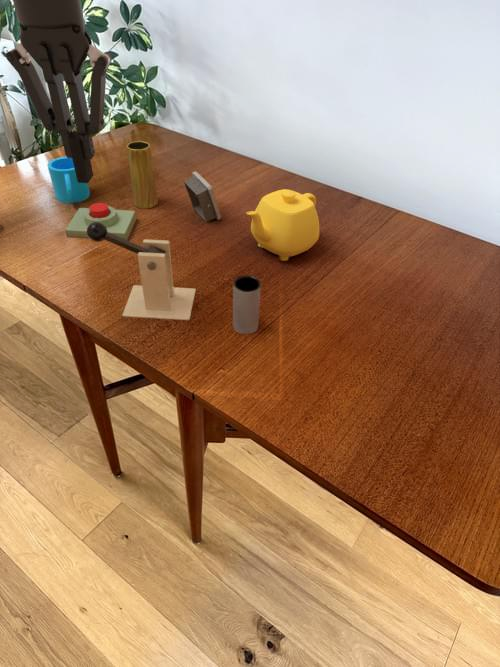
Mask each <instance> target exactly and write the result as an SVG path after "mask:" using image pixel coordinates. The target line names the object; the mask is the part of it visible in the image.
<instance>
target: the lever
mask: <svg viewBox="0 0 500 667" xmlns="http://www.w3.org/2000/svg"><path fill="white" fill-rule="evenodd" d="M87 235H88V237H89V238H90V239H89V240H91V241H93V242H95V243H96V242H97V243H100V242H103V241H107V242H109V243H112V244H113V245H116V246H118V247H120V248H123V249H126V250H127V251H130V252H131V253H135V254H137V255H138V253H139V252H145V253H163V254H165V253H166V251H164V250H162V249H159V248H157V247H155V246H152V245H150V247H149V250H148V249H146V248H144V247H143V246H141V245H140V244H137V243H134V242H132V241H130V240H129V239H127V240H125V239H123V238H121V237H118V236H116V235H114V234H111V233H109V232H107V229H106V227H105V225H103V224H102V223H100V222H93V223H91V224H90V225H89V226H88V228H87Z"/></svg>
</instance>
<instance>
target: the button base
mask: <svg viewBox="0 0 500 667" xmlns="http://www.w3.org/2000/svg"><path fill="white" fill-rule="evenodd" d="M108 208H109V215H108V216H106V217H103V218H93V217H91V214H90V209H89V207H79V208H78V209H77V211H76V212H75V214H74V216H73V217H72V219H71V221H69V223H68V225H67V226H66V228H65V230H64V231H65V235H66V238H68V239H86V240H91V239H90V238H89V237H88V235H87V228H88V226H89V225H90V224H91V223H93V222H100V223H102V224H103V225H105V227H106V229H107V232H109V233H111V234H114V235H116V236H118V237H121V238H123V239H125V240H129V238H130V235H131V232H132V230H133V228H134V225H135V224H136V221H137V214H136V210H126V209H115V208H114V207H112V206H110V205H108Z"/></svg>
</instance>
